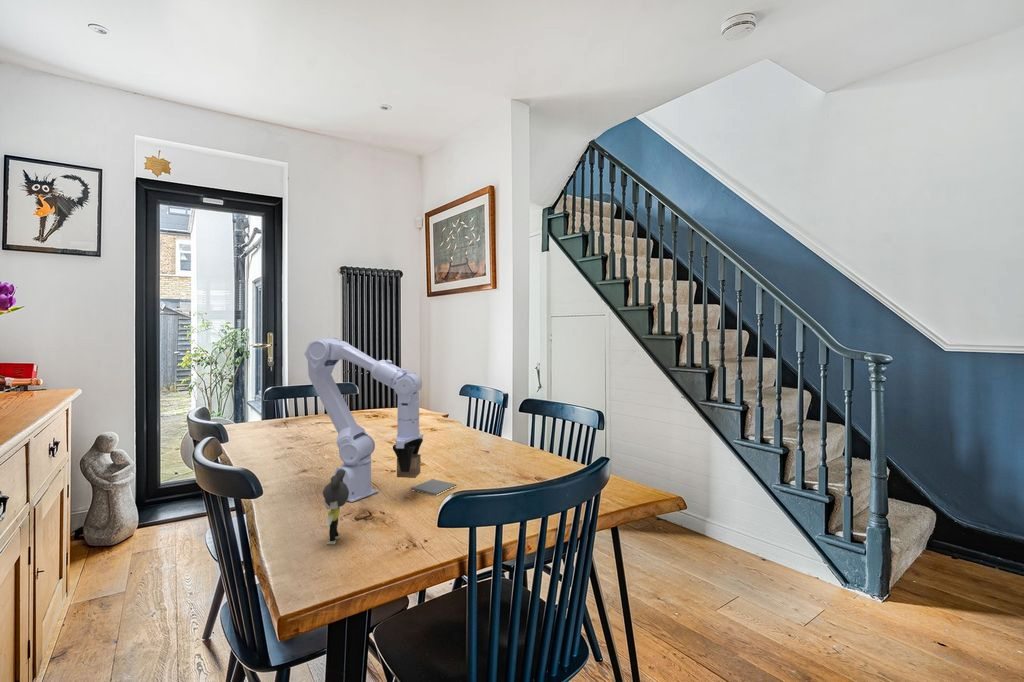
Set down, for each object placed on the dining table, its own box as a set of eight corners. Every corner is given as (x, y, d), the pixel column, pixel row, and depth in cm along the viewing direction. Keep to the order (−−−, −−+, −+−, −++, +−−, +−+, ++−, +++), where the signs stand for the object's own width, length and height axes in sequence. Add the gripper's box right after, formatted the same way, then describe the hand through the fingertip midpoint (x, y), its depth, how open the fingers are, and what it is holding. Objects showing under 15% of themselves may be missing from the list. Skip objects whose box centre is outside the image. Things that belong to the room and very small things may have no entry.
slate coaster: (436, 496, 136) (436, 493, 136) (411, 490, 141) (411, 487, 140) (456, 486, 144) (456, 484, 144) (432, 481, 148) (432, 479, 148)
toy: (329, 533, 112) (329, 467, 111) (354, 532, 112) (353, 466, 112) (317, 550, 103) (316, 479, 103) (344, 550, 104) (343, 478, 103)
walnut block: (415, 478, 132) (415, 459, 132) (396, 477, 133) (396, 458, 132) (420, 472, 137) (420, 454, 137) (402, 471, 138) (402, 453, 137)
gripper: (414, 424, 127) (414, 477, 127) (430, 413, 141) (429, 461, 142) (387, 423, 127) (387, 476, 128) (405, 413, 142) (405, 460, 142)
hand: (408, 468), depth 135 cm, fingers closed on walnut block, 5 cm apart
